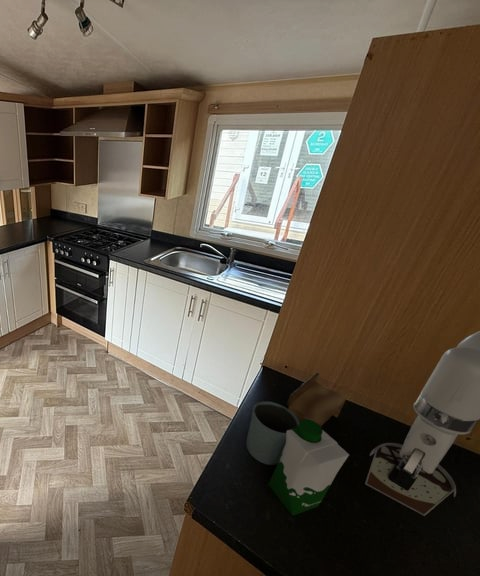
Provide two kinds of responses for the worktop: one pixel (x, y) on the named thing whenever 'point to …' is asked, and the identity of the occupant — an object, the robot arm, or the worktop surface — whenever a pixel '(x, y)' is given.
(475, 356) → the robot arm
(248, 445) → the grey cup
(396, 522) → the worktop surface
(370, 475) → the food container
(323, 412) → the paper bag
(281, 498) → the milk carton
